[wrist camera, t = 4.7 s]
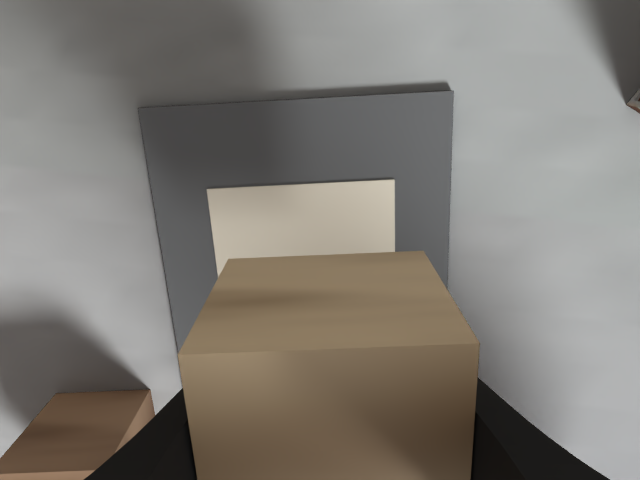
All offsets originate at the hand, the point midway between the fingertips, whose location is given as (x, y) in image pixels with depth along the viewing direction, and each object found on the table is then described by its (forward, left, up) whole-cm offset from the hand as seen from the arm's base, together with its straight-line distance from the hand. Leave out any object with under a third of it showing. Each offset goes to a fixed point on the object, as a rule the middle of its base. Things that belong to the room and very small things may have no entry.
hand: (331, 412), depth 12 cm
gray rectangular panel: (0, +1, -10) cm, 10 cm away
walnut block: (-8, +11, -10) cm, 17 cm away
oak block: (0, 0, -3) cm, 3 cm away
